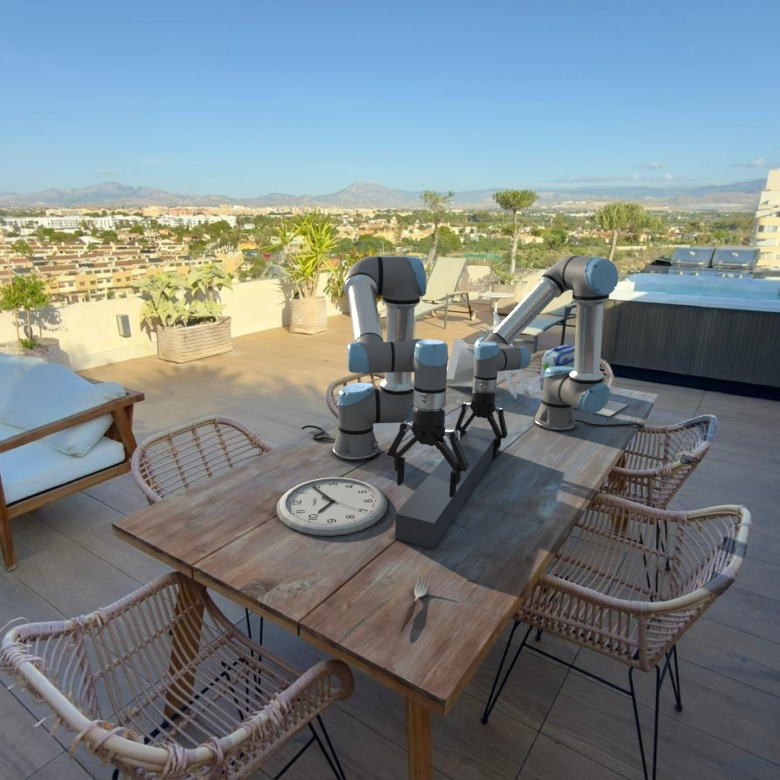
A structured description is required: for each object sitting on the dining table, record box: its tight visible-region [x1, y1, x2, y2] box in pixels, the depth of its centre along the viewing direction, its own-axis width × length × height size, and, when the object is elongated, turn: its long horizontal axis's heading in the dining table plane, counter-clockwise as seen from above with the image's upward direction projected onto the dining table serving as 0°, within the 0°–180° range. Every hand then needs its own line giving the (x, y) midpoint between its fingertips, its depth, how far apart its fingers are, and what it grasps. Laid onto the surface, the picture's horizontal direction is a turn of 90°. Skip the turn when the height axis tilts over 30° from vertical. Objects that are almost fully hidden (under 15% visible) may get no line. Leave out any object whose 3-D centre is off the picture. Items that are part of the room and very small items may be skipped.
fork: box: [400, 573, 431, 633], centre depth 105 cm, size 3×16×2 cm, turn 160°
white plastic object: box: [446, 310, 531, 400], centre depth 245 cm, size 37×45×31 cm
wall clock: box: [276, 476, 388, 537], centre depth 142 cm, size 30×2×30 cm
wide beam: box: [394, 425, 500, 550], centre depth 153 cm, size 65×10×7 cm, turn 155°
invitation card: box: [575, 399, 629, 418], centre depth 226 cm, size 21×1×15 cm
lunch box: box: [539, 344, 575, 391], centre depth 246 cm, size 26×11×21 cm, turn 135°
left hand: (426, 489), depth 128 cm, fingers open, 13 cm apart
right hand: (479, 452), depth 176 cm, fingers closed on wide beam, 10 cm apart
